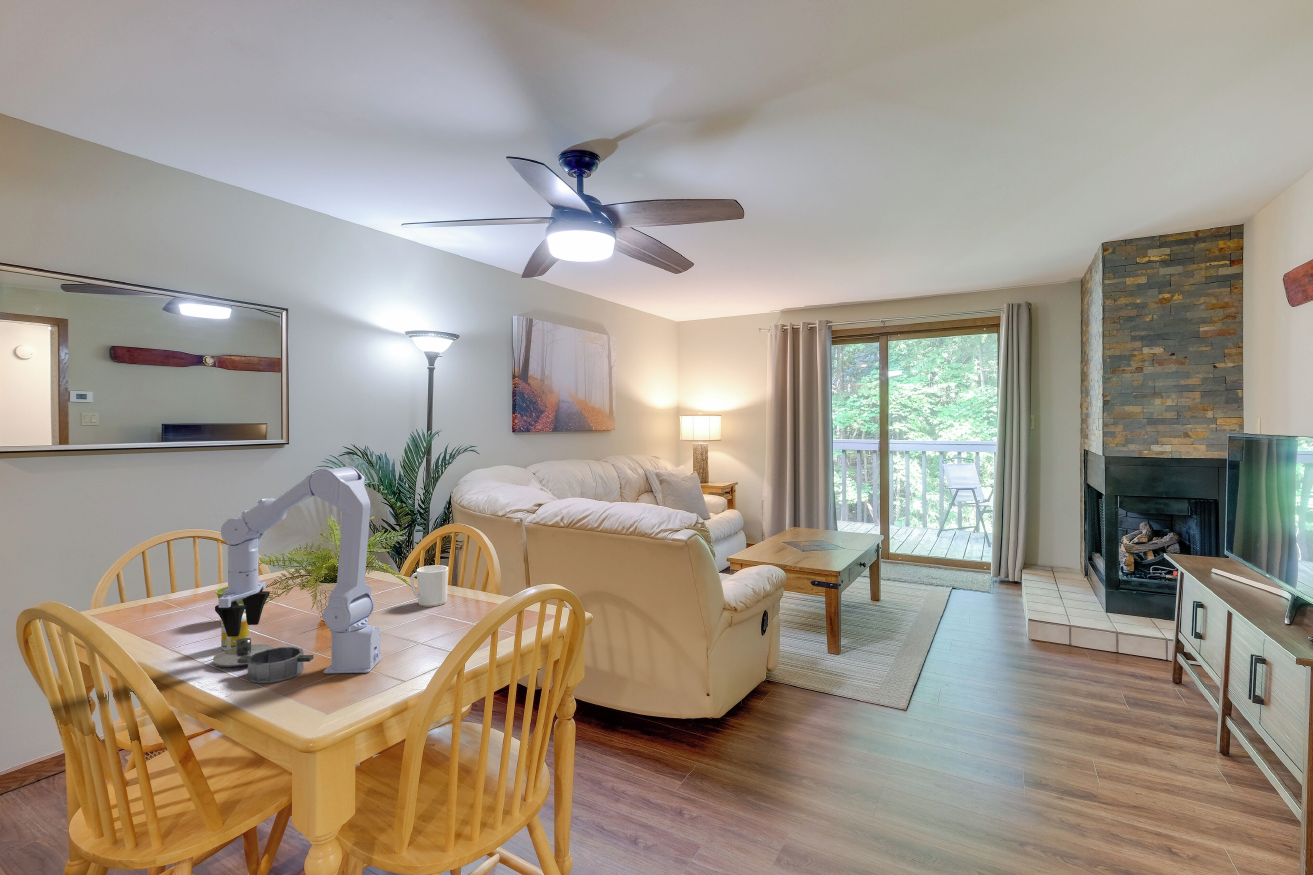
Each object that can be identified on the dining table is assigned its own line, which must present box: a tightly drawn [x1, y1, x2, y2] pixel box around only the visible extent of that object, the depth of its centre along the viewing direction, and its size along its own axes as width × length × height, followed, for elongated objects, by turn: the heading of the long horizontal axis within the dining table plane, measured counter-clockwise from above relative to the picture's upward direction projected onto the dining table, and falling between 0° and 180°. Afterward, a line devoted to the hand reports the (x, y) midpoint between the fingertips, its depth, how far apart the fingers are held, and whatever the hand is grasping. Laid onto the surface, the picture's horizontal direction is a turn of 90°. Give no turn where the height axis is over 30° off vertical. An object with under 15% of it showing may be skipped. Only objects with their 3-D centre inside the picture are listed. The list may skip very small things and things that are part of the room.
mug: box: [410, 564, 449, 608], centre depth 182 cm, size 11×9×10 cm
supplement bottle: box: [220, 610, 250, 651], centre depth 147 cm, size 5×5×10 cm
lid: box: [212, 637, 274, 668], centre depth 138 cm, size 11×11×5 cm
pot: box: [238, 646, 314, 685], centre depth 131 cm, size 15×10×4 cm
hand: (243, 630), depth 138 cm, fingers open, 7 cm apart
